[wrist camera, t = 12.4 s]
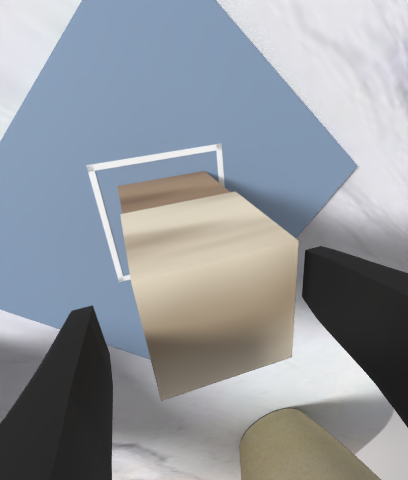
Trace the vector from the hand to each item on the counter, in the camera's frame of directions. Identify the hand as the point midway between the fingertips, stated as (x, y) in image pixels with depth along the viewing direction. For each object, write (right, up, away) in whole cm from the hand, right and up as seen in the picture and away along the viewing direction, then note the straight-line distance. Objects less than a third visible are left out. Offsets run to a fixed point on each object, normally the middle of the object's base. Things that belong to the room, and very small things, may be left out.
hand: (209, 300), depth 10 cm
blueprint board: (-2, +4, +7) cm, 8 cm away
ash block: (-1, +1, +3) cm, 3 cm away
